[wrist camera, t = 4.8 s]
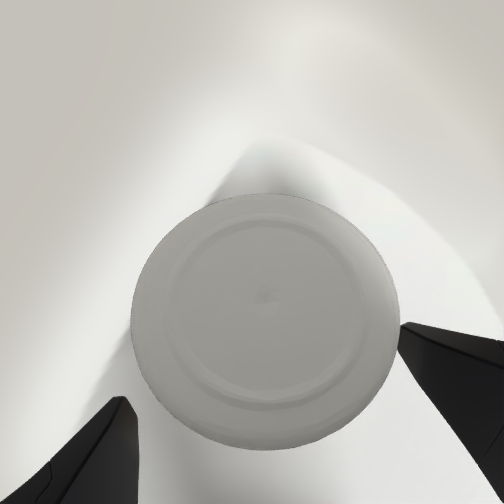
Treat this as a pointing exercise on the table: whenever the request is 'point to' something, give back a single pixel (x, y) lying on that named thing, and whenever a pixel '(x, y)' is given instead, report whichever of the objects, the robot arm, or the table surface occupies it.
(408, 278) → the table surface
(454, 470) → the table surface
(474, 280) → the table surface
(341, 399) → the sprinkles bottle
